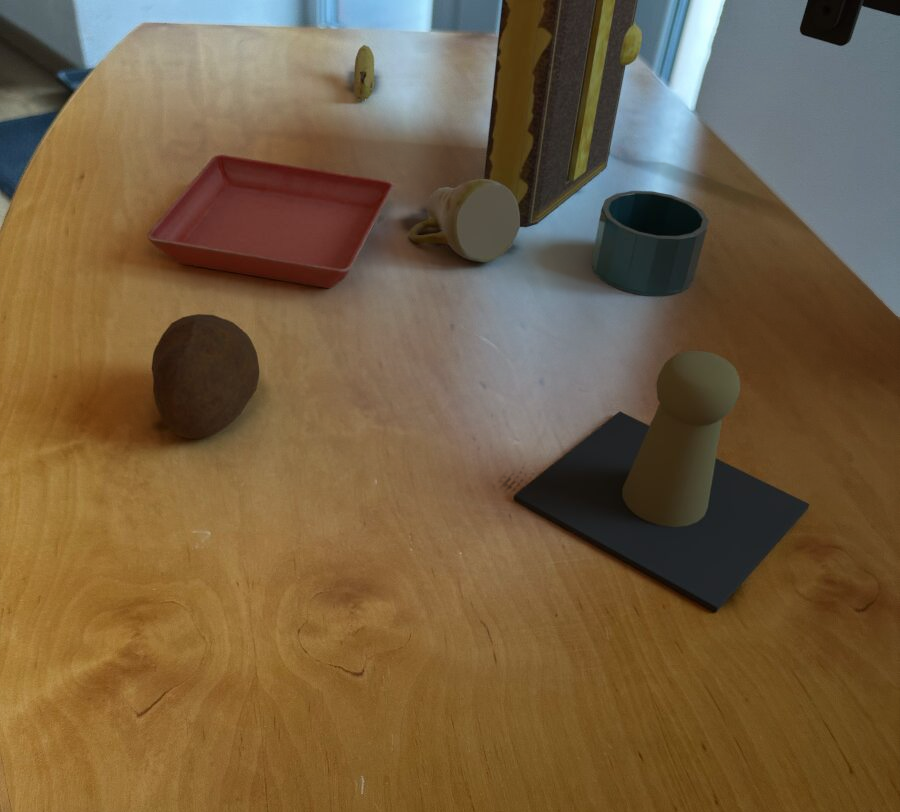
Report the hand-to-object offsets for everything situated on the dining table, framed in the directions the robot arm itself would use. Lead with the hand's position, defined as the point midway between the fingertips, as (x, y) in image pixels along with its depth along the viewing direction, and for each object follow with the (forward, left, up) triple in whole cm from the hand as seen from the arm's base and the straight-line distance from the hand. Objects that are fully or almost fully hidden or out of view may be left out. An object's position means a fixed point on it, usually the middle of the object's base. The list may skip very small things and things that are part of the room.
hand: (853, 24), depth 66 cm
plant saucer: (+42, +12, -26) cm, 51 cm away
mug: (+30, 0, -26) cm, 40 cm away
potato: (+26, +35, -26) cm, 51 cm away
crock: (+15, -9, -26) cm, 32 cm away
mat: (-4, +20, -26) cm, 33 cm away
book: (+32, -18, -26) cm, 45 cm away
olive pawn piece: (-4, +20, -26) cm, 33 cm away
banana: (+62, -22, -26) cm, 71 cm away
